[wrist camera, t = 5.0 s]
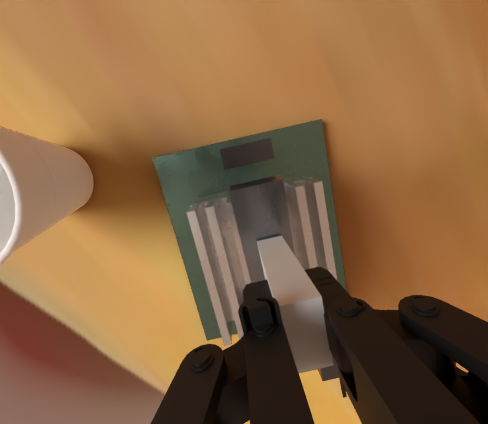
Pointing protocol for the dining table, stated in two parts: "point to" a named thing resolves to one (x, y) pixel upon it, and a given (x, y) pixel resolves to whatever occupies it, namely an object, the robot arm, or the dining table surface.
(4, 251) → the cup
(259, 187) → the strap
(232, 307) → the green circuit board
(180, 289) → the dining table surface
